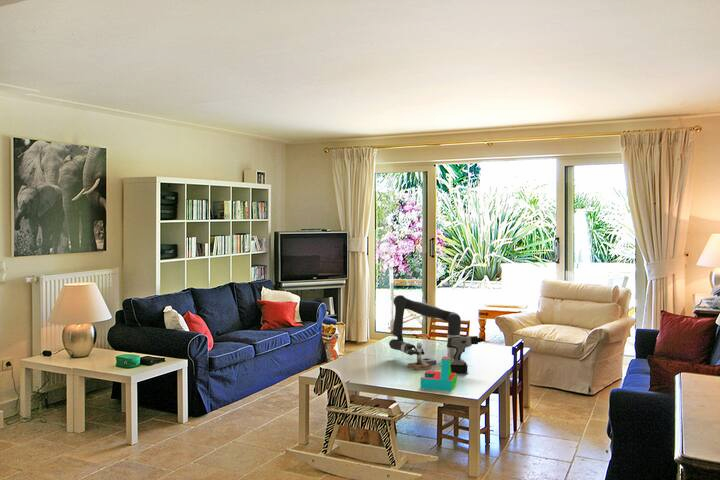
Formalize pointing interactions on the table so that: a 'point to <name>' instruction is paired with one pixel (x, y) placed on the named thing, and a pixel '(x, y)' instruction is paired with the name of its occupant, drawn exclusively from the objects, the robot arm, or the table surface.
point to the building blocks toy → (440, 377)
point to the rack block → (419, 366)
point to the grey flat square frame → (428, 360)
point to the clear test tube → (419, 349)
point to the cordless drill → (461, 351)
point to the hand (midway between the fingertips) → (421, 353)
